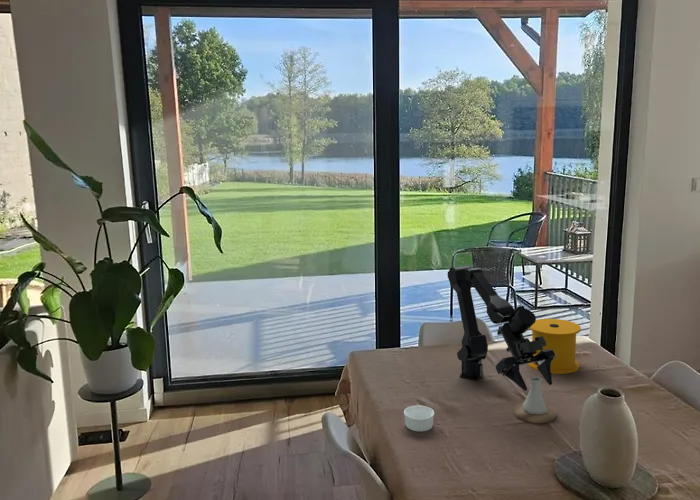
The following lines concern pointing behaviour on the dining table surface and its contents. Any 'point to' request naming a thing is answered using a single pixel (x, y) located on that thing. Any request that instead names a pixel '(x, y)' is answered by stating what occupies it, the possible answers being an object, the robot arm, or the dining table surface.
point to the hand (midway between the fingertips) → (538, 387)
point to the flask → (535, 398)
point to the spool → (558, 343)
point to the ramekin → (419, 418)
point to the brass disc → (535, 417)
